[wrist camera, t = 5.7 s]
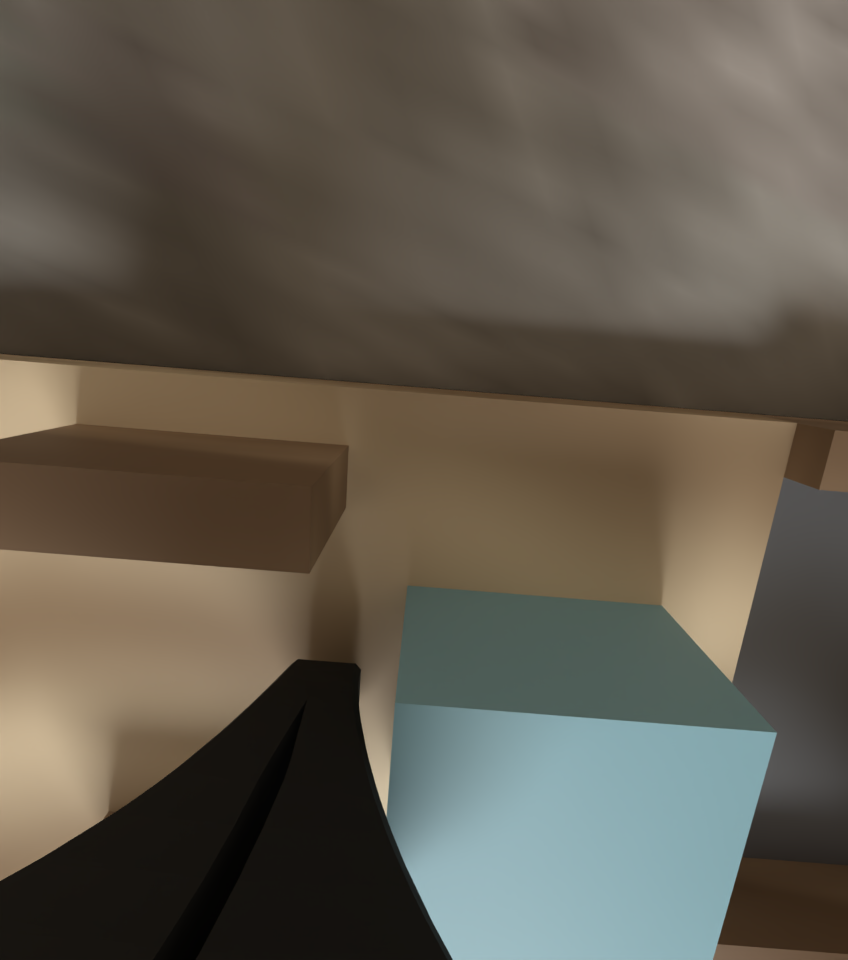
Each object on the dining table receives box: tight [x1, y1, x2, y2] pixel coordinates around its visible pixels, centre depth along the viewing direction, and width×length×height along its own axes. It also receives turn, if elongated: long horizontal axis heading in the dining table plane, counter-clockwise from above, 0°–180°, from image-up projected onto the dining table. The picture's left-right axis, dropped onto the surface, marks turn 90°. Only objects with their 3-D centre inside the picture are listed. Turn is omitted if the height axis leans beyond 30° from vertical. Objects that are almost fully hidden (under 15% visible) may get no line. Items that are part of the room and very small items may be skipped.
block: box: [387, 586, 777, 960], centre depth 9 cm, size 4×5×4 cm
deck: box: [0, 354, 848, 960], centre depth 10 cm, size 12×26×4 cm, turn 86°
